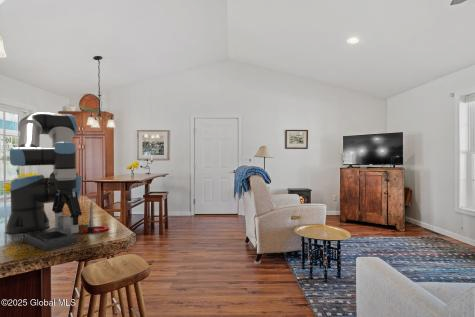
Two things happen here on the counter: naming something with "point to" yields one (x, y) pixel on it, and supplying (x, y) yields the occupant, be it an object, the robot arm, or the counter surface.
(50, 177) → the robot arm
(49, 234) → the dark grey tray
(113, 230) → the counter surface
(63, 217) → the block
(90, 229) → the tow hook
